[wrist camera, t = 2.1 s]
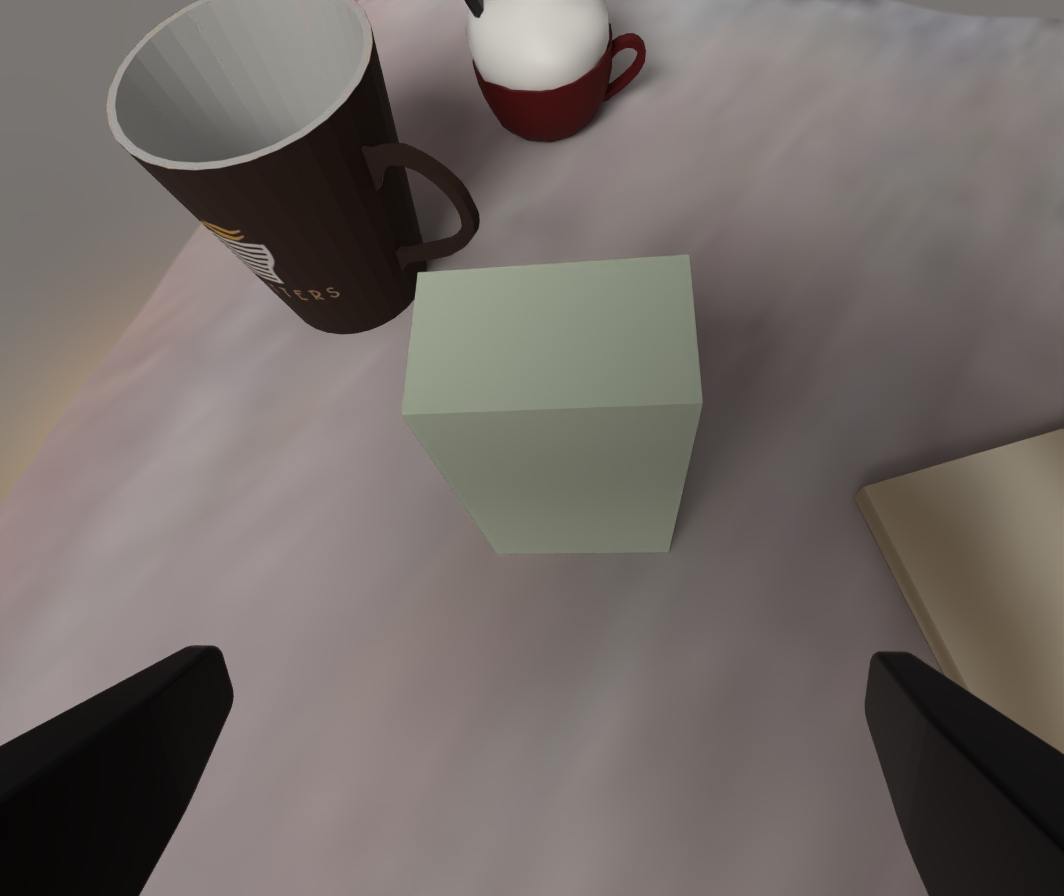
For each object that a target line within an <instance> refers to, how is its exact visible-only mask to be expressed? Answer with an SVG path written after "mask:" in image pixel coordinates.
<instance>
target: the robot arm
mask: <svg viewBox="0 0 1064 896" xmlns="http://www.w3.org/2000/svg"><path fill="white" fill-rule="evenodd" d="M233 697H234V695H233V687H232V684H231V680H230V677H229V674H228V670H227V667H226V664H225V660H224V657H223V654H222V651H221V650H220V649H219V648H218V647H216V646H212V645H193V646H188V647H185V648H183V649H181V650H180V651H178V652H176V653H174V654H172V655H170V656H168V657H166V658H165V659H163V660H161V661H159V662H157V663H155V664H153V665H151V666H150V667H148V668H146V669H144V670H142V671H140V672H138V673H136V674H135V675H133V676H131V677H129V678H127V679H125V680H123V681H121V682H119V683H118V684H116V685H114V686H112V687H110V688H108V689H106V690H104V691H103V692H101V693H99V694H97V695H95V696H93V697H91V698H89V699H88V700H86V701H84V702H82V703H80V704H78V705H76V706H74V707H73V708H71V709H69V710H67V711H65V712H63V713H61V714H59V715H58V716H56V717H54V718H52V719H50V720H48V721H46V722H44V723H43V724H41V725H39V726H37V727H35V728H33V729H31V730H29V731H27V732H26V733H24V734H22V735H20V736H18V737H16V738H14V739H12V740H11V741H9V742H7V743H5V744H3V745H1V746H0V896H139V895H140V893H141V892H142V890H143V888H144V886H145V884H146V883H147V881H148V879H149V877H150V875H151V873H152V872H153V870H154V868H155V866H156V864H157V863H158V861H159V859H160V857H161V855H162V854H163V852H164V850H165V848H166V846H167V844H168V843H169V841H170V839H171V837H172V835H173V834H174V832H175V830H176V828H177V826H178V824H179V822H180V821H181V819H182V817H183V815H184V813H185V811H186V809H187V807H188V805H189V803H190V801H191V798H192V796H193V794H194V792H195V790H196V788H197V785H198V783H199V781H200V778H201V776H202V774H203V772H204V769H205V767H206V765H207V763H208V760H209V758H210V756H211V753H212V751H213V749H214V747H215V744H216V742H217V740H218V737H219V735H220V733H221V731H222V728H223V726H224V724H225V722H226V719H227V717H228V715H229V712H230V710H231V707H232V704H233ZM865 714H866V719H867V723H868V726H869V730H870V733H871V736H872V739H873V742H874V745H875V748H876V752H877V755H878V758H879V761H880V764H881V767H882V770H883V774H884V777H885V780H886V783H887V786H888V789H889V793H890V796H891V799H892V802H893V805H894V808H895V811H896V815H897V818H898V821H899V824H900V827H901V830H902V832H903V835H904V838H905V841H906V844H907V846H908V848H909V851H910V853H911V856H912V858H913V861H914V863H915V865H916V868H917V870H918V872H919V874H920V877H921V879H922V881H923V884H924V886H925V888H926V890H927V893H928V895H929V896H1064V754H1063V753H1062V752H1060V751H1059V750H1057V749H1056V748H1054V747H1053V746H1051V745H1050V744H1048V743H1047V742H1045V741H1044V740H1042V739H1041V738H1039V737H1038V736H1036V735H1034V734H1033V733H1031V732H1030V731H1028V730H1027V729H1025V728H1024V727H1022V726H1021V725H1019V724H1018V723H1016V722H1015V721H1013V720H1012V719H1010V718H1009V717H1007V716H1006V715H1004V714H1002V713H1001V712H999V711H998V710H996V709H995V708H993V707H992V706H990V705H989V704H987V703H986V702H984V701H983V700H981V699H980V698H978V697H977V696H975V695H974V694H972V693H971V692H969V691H967V690H966V689H964V688H963V687H961V686H960V685H958V684H957V683H955V682H954V681H952V680H951V679H949V678H948V677H946V676H945V675H943V674H942V673H940V672H939V671H937V670H935V669H934V668H932V667H931V666H929V665H928V664H926V663H925V662H923V661H922V660H920V659H919V658H917V657H916V656H914V655H912V654H910V653H908V652H887V651H879V652H876V653H875V654H873V656H872V658H871V661H870V667H869V674H868V682H867V689H866V697H865Z"/></svg>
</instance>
